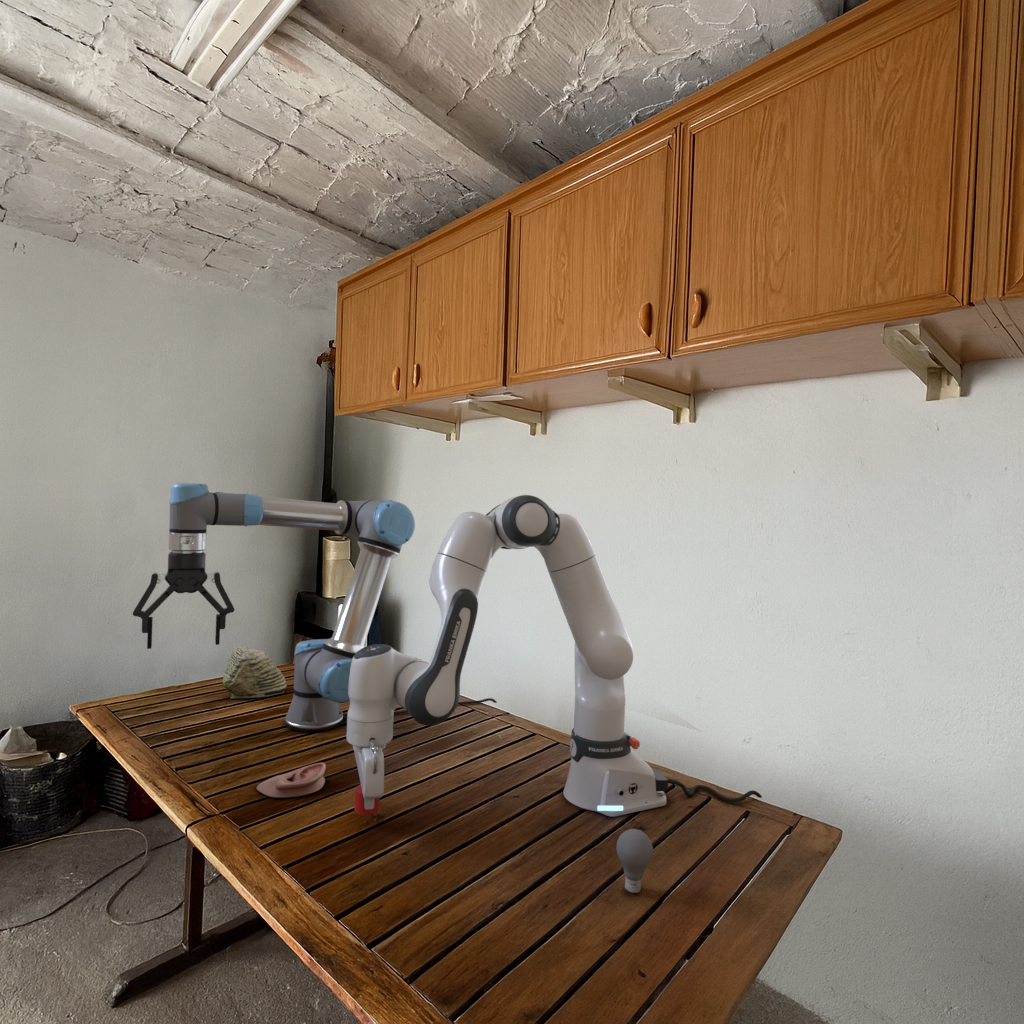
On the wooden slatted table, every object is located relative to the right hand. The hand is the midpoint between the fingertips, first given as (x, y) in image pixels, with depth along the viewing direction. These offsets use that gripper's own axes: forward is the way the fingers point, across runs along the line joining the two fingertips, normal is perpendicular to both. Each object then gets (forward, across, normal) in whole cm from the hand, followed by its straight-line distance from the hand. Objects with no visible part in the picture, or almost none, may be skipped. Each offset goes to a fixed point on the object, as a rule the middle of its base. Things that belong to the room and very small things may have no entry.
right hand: (367, 800), depth 123 cm
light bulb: (+5, -32, -40) cm, 52 cm away
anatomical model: (+5, +20, +14) cm, 25 cm away
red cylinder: (+2, 0, 0) cm, 2 cm away
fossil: (+5, +87, +26) cm, 91 cm away
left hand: (-24, +34, +38) cm, 56 cm away
